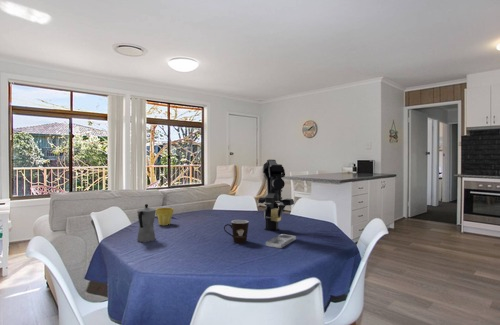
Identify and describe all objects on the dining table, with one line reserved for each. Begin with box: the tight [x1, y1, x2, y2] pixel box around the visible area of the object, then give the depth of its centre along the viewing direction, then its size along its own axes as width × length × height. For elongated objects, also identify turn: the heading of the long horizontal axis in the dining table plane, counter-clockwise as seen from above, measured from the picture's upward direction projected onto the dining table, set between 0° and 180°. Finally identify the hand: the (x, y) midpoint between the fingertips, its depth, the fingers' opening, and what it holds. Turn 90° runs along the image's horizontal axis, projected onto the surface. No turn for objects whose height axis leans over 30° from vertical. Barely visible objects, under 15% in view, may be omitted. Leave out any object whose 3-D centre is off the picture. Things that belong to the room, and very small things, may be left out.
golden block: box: [271, 208, 282, 222], centre depth 156 cm, size 4×4×6 cm
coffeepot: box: [136, 203, 156, 243], centre depth 147 cm, size 15×9×18 cm, turn 0°
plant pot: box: [155, 207, 174, 226], centre depth 183 cm, size 10×10×10 cm
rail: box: [265, 233, 297, 249], centre depth 144 cm, size 8×18×2 cm, turn 149°
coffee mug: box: [223, 219, 249, 244], centre depth 146 cm, size 12×9×10 cm
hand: (275, 217), depth 156 cm, fingers closed on golden block, 4 cm apart
